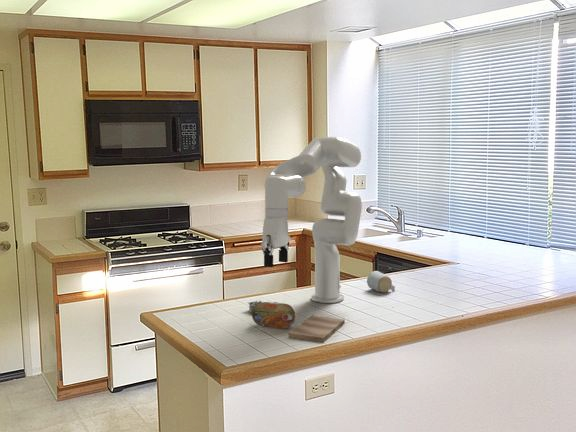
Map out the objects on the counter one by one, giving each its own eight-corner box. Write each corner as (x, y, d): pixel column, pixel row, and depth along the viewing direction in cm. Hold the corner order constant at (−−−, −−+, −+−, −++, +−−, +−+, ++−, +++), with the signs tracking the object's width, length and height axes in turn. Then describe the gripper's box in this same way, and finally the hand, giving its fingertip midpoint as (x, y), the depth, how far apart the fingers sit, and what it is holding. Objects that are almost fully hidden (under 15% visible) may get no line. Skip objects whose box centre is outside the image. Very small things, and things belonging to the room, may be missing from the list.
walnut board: (312, 319, 222) (312, 315, 222) (344, 323, 217) (344, 319, 217) (288, 337, 204) (288, 332, 204) (323, 342, 199) (323, 337, 199)
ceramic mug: (378, 294, 253) (378, 275, 251) (366, 289, 260) (366, 271, 259) (399, 291, 257) (400, 273, 256) (387, 287, 265) (387, 269, 264)
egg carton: (280, 313, 230) (280, 302, 230) (264, 318, 225) (264, 307, 225) (261, 307, 238) (261, 296, 238) (245, 311, 233) (245, 300, 233)
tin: (251, 326, 216) (251, 302, 215) (255, 323, 219) (255, 299, 218) (293, 330, 211) (293, 306, 210) (296, 327, 214) (296, 303, 212)
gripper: (279, 210, 220) (279, 259, 222) (252, 215, 205) (252, 267, 207) (298, 211, 216) (298, 261, 218) (272, 216, 201) (272, 269, 203)
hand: (276, 264), depth 212 cm, fingers open, 9 cm apart
